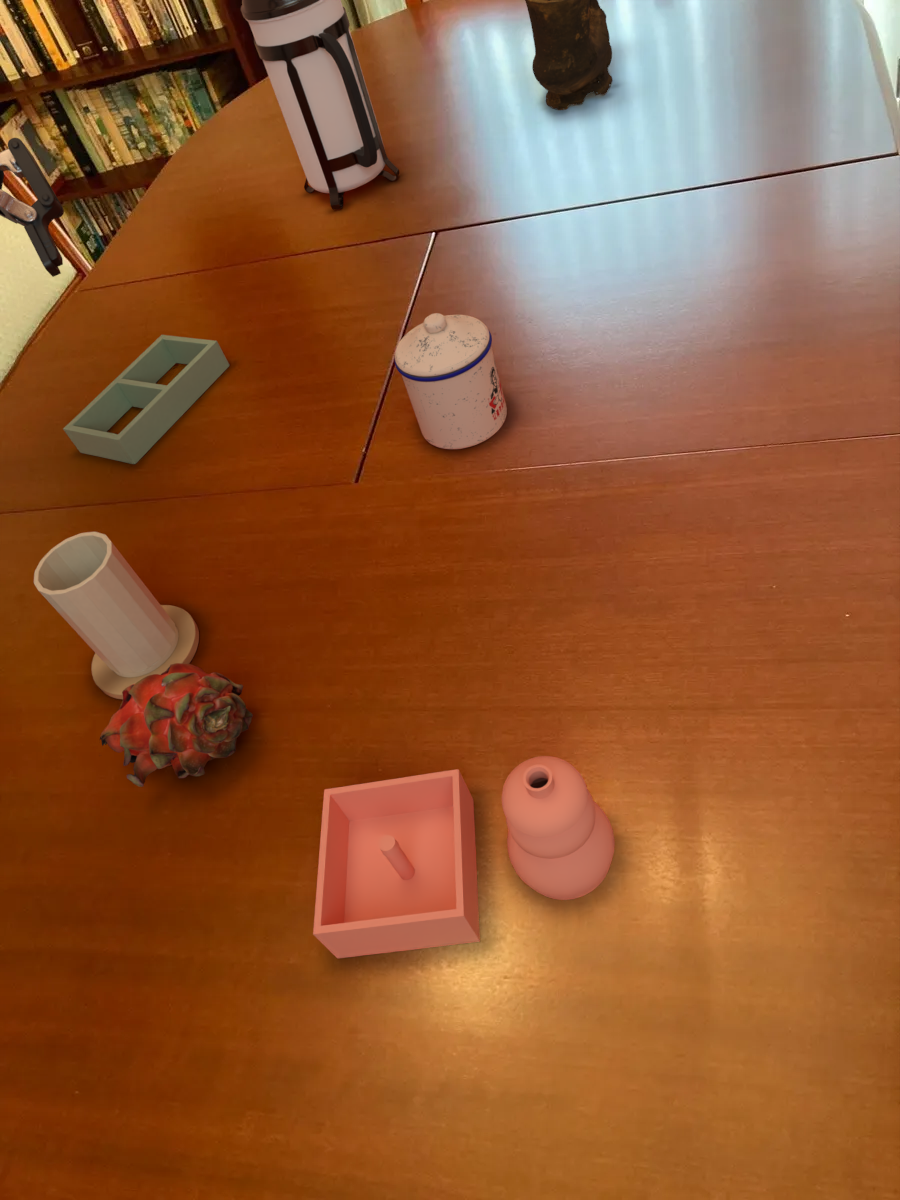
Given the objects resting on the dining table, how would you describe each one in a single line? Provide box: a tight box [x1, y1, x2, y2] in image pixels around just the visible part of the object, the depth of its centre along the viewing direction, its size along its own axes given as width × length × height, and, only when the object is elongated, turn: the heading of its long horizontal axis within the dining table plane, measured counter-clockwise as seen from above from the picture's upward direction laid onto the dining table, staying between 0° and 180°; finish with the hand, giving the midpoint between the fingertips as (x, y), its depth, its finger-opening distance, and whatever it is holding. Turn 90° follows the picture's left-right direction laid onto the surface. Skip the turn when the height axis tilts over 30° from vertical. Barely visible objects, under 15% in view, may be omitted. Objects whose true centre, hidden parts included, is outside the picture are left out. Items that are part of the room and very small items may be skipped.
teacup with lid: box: [394, 312, 508, 450], centre depth 83 cm, size 12×9×12 cm
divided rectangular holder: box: [62, 334, 231, 465], centre depth 101 cm, size 9×18×4 cm, turn 151°
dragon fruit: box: [98, 663, 254, 788], centre depth 66 cm, size 8×8×12 cm
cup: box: [33, 531, 179, 678], centre depth 72 cm, size 6×6×11 cm
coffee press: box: [240, 0, 400, 211], centre depth 117 cm, size 17×16×30 cm
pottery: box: [312, 755, 616, 959], centre depth 53 cm, size 18×10×10 cm, turn 91°
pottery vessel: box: [524, 0, 613, 111], centre depth 123 cm, size 25×11×20 cm, turn 171°
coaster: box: [91, 604, 200, 700], centre depth 76 cm, size 10×10×1 cm
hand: (5, 293), depth 72 cm, fingers open, 8 cm apart
